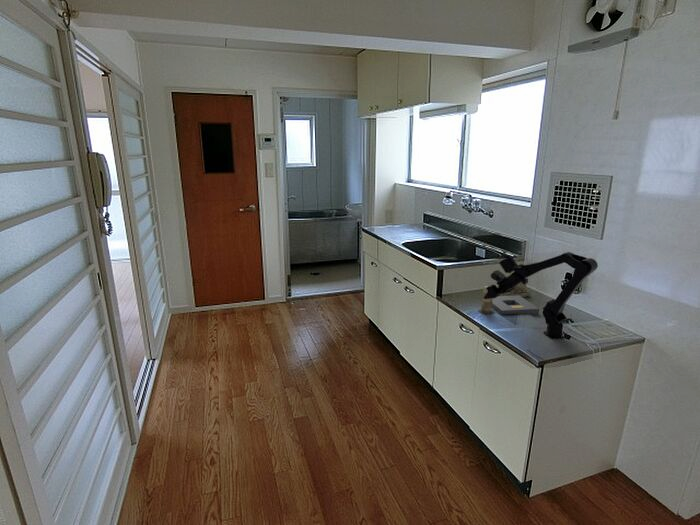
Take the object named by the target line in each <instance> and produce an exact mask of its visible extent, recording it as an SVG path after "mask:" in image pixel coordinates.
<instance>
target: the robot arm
mask: <svg viewBox="0 0 700 525" xmlns="http://www.w3.org/2000/svg"><path fill="white" fill-rule="evenodd" d="M498 264H499V265H500V267H501V268H502V270H503V271H504V273H505V274H509V275H507V276H506V275H505V274H504V273H503V272H502V271H500V270H499V269H497V270H494V271H492V273H490V278H491V279H492V280H494V281H496V284H497V285H496V284H490V285H487V286H488V287H487V288H486V289H487V290H488V292H487V294H486V295H485V296H484V299H491V298H496V297H498V296H501V295H502V294H505V293H508V292H510V291H513V290H514V289H515V288H516V286H517V285H518V284H519V283H521V282H522V283H523V284H526V285H527V284H528V283H529V277H531V276H534V275H536V274H538V273H540V272H541V271H544V270H546V269H548V268H552V267H555V266H558V265H562V264H567V265H568V266H569V267H571V268H572V269H574V270H573V273H572V274H573V275H572V277H570V279H569V281H568V282H567V283H566V284H565V286H564V288H563V289H562V290H561V291H560V292H559V294H558V296H556V298H555V299H554V298H553V299H551V300H548V301H547V302H546V304H545V306H544V307H542V316H543V318H544V320H545V324H546V331H543V332H542V333H543V334H544V335H546V336H547V337H548V338H550V339H553V340H554V339H565V338H566V337H565V335H563V328H564V325H563V323H565V322H566V321H567V319H568V318H567V316H566V315H565V314H564V310H565V305H566V304H567V302H568V301H569V299H571V297H572V295H573V294H574V293H575V292H576V290H577V289H578V288H579V287H580V285H581V284H582V282H583V281H584V280H585V279H587V278H588V277H589V276H590V275H591V274H593V273H594V272H595V271H596V270H597V269H598V262H597V261H596V260H595V259H594V258H593V257H592V258H591V257H588V258H587V257H585V256H581V255H578V254H575V253H573V252H570V251H566V252H563V253H562V254H559V255H557V256H553V257H551V258H548V259H545V260H541V261H535V262H534V261H533V262H529V263H526V264H522V263H520V264H518V263H517V262H516V261H515V259H514V257H513V256H512V255H510V256H508V257H506V258H504V259H502V260H500V262H498ZM497 286H498V287H497ZM510 289H511V290H510Z"/></svg>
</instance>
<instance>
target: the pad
mask: <svg viewBox="0 0 700 525" xmlns="http://www.w3.org/2000/svg"><path fill="white" fill-rule="evenodd" d="M481 309H482V308H479V309H478V312H479V313H480V314H482V315H490V316H492V315H495V313H496V312H495V311H494V310H493V309H492V312H491V313H483V312H481Z"/></svg>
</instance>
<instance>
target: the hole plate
mask: <svg viewBox="0 0 700 525" xmlns="http://www.w3.org/2000/svg"><path fill="white" fill-rule="evenodd" d="M509 304H510V305H509ZM492 309H494V310H496V312H498V313H499V314H500V315H513V314H514V315H519V314H529V315H530V314H533V315H540V314H539V313H540V308H539V307H538V306H536V305H535V304H533V303H532V302H530V301H528V300H527V299H525V297H521V296H519V295H517V296H508V295H500V296H498V297H496V298H493V302H492Z"/></svg>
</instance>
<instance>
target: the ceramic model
mask: <svg viewBox="0 0 700 525" xmlns="http://www.w3.org/2000/svg"><path fill="white" fill-rule="evenodd" d="M510 290H511V289H510ZM504 294H505V296H517V295H519V296H521V297H522V298H525V297H526V296H528V297H530V294H531V292H530V290H528V289H527V284H523V283H522V282H521V283H519V284H518V285H517V286H516V288H515V289H514V290H513V291H510V292H508V293H504ZM526 298H527V297H526Z"/></svg>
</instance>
